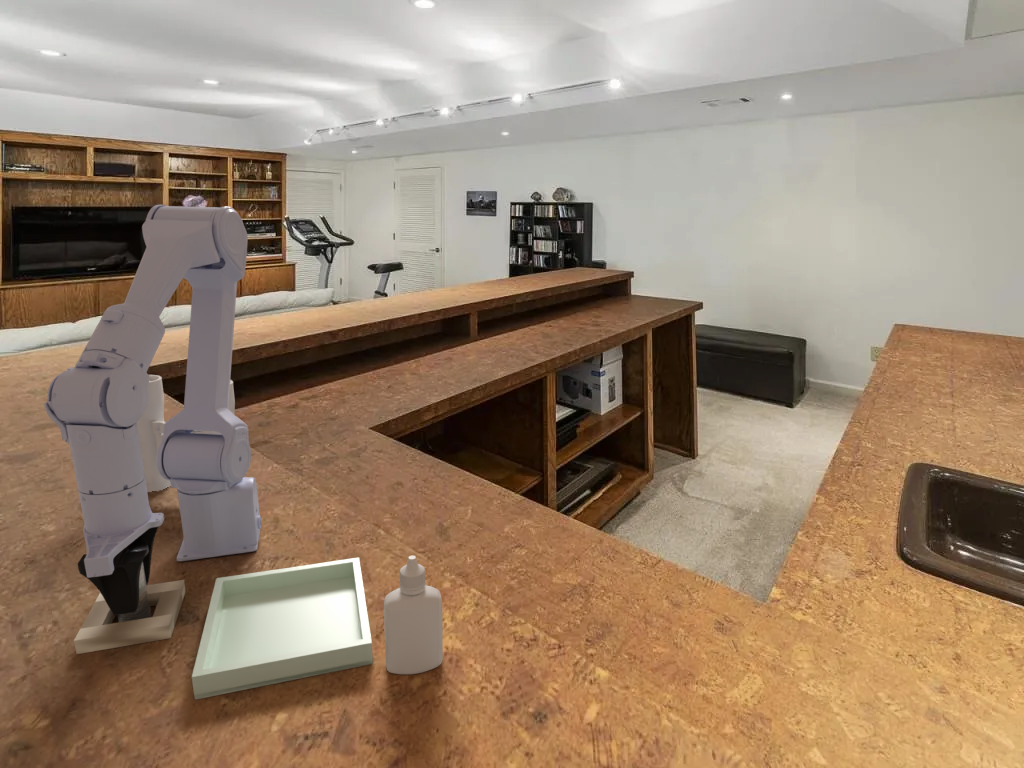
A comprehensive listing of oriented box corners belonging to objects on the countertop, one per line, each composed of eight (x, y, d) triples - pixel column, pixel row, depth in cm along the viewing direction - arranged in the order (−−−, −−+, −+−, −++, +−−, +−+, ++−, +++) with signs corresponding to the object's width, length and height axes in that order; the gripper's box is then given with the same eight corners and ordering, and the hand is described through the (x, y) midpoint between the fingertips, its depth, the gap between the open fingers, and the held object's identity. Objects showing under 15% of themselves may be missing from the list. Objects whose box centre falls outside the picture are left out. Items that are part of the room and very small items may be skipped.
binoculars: (129, 492, 94) (111, 382, 89) (152, 477, 100) (137, 373, 95) (232, 499, 93) (220, 388, 88) (250, 484, 98) (240, 379, 93)
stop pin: (162, 604, 68) (152, 538, 65) (153, 629, 63) (142, 559, 61) (118, 611, 66) (106, 543, 64) (105, 637, 62) (92, 566, 60)
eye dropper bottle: (398, 642, 63) (395, 541, 59) (448, 654, 61) (448, 550, 58) (378, 671, 58) (374, 564, 55) (431, 684, 57) (430, 575, 54)
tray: (359, 575, 74) (359, 557, 73) (372, 663, 59) (371, 642, 59) (218, 597, 69) (216, 578, 68) (194, 699, 55) (191, 677, 54)
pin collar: (185, 591, 70) (184, 579, 70) (170, 638, 62) (168, 625, 62) (102, 604, 67) (100, 591, 67) (76, 654, 60) (73, 640, 59)
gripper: (138, 509, 55) (158, 634, 59) (171, 452, 68) (185, 557, 72) (48, 519, 53) (74, 648, 56) (100, 458, 66) (118, 566, 70)
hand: (131, 598), depth 64 cm, fingers closed on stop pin, 4 cm apart
